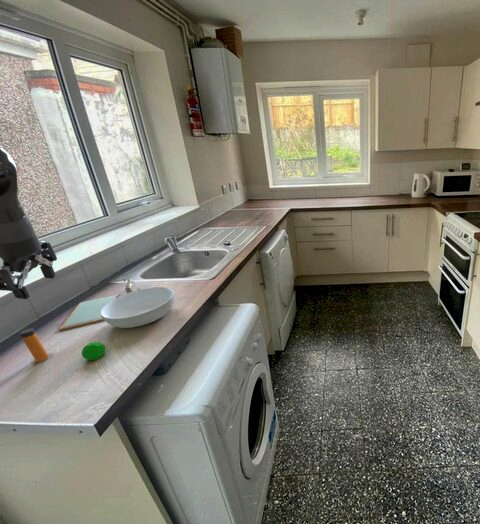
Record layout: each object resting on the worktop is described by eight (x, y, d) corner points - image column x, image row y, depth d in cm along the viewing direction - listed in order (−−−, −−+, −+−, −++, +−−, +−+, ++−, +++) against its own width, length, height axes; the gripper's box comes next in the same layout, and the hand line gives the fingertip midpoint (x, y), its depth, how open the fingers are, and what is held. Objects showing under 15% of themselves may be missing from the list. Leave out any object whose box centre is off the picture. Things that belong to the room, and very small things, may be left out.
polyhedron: (95, 364, 79) (88, 350, 77) (81, 363, 79) (73, 349, 78) (112, 352, 83) (106, 339, 81) (98, 351, 84) (92, 337, 82)
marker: (34, 364, 80) (16, 335, 76) (39, 359, 82) (22, 330, 78) (47, 361, 81) (30, 332, 77) (51, 355, 83) (35, 327, 79)
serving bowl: (90, 337, 91) (82, 319, 88) (138, 303, 110) (131, 287, 107) (154, 335, 90) (147, 317, 87) (190, 301, 109) (185, 285, 106)
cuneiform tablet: (123, 278, 119) (119, 289, 109) (134, 275, 121) (131, 286, 111) (129, 290, 121) (126, 302, 112) (139, 287, 123) (137, 299, 113)
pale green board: (60, 332, 94) (59, 328, 94) (81, 305, 111) (79, 302, 111) (105, 321, 99) (104, 318, 99) (118, 297, 116) (117, 294, 115)
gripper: (18, 218, 72) (42, 270, 81) (-40, 247, 61) (-5, 304, 69) (53, 222, 74) (73, 273, 82) (2, 251, 62) (32, 307, 71)
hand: (37, 287), depth 76 cm, fingers open, 8 cm apart
